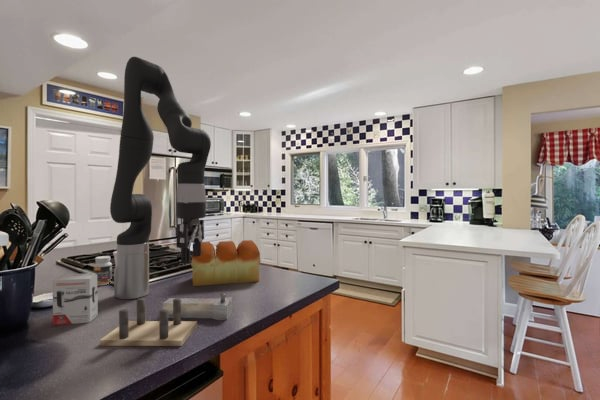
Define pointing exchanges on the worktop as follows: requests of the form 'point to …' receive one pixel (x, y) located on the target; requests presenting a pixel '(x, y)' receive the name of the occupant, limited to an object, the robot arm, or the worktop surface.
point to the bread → (226, 263)
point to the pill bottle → (103, 270)
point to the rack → (150, 328)
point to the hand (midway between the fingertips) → (191, 259)
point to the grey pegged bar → (202, 307)
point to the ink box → (75, 298)
